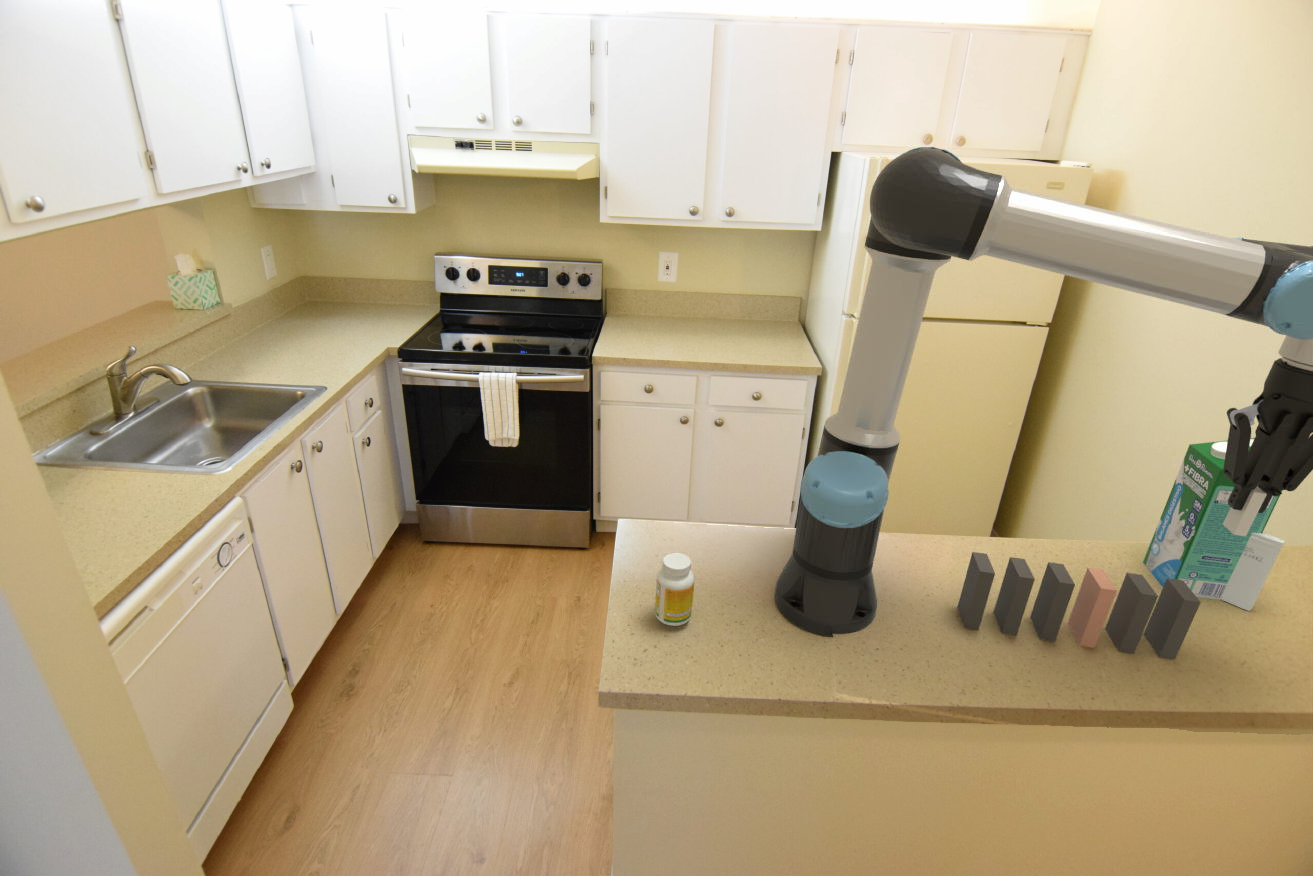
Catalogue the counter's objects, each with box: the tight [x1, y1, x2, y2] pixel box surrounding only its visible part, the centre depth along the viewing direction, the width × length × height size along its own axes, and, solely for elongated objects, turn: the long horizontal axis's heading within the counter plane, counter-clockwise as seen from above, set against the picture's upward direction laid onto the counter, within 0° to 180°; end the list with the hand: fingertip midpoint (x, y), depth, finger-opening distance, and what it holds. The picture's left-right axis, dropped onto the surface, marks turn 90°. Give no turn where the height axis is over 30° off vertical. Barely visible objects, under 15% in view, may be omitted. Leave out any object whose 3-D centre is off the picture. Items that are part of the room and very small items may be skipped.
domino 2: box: [993, 556, 1036, 637], centre depth 100 cm, size 2×5×10 cm, turn 169°
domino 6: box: [1143, 578, 1202, 661], centre depth 97 cm, size 2×5×10 cm, turn 169°
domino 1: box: [957, 551, 996, 631], centre depth 101 cm, size 2×5×10 cm, turn 169°
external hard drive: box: [1220, 532, 1286, 612], centre depth 107 cm, size 2×8×12 cm, turn 39°
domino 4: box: [1067, 567, 1118, 648], centre depth 98 cm, size 2×5×10 cm, turn 169°
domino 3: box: [1029, 561, 1076, 643], centre depth 99 cm, size 2×5×10 cm, turn 169°
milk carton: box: [1142, 437, 1283, 601], centre depth 108 cm, size 9×9×25 cm
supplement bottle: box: [654, 552, 695, 627], centre depth 99 cm, size 5×5×10 cm
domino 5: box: [1104, 572, 1159, 655], centre depth 98 cm, size 2×5×10 cm, turn 169°
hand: (1234, 530), depth 93 cm, fingers closed
